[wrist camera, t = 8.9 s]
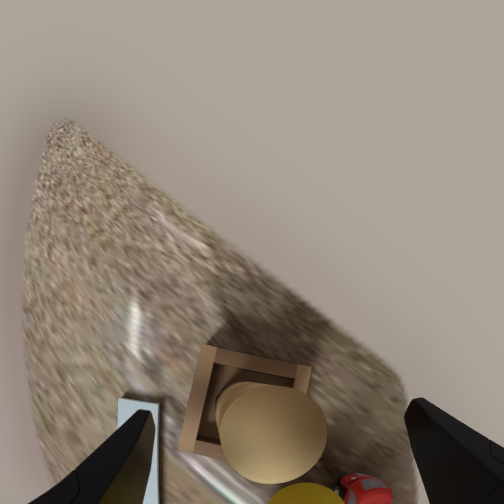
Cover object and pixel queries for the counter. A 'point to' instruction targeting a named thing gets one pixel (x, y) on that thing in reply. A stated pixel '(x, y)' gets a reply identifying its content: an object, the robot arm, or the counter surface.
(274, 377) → the square wooden tray
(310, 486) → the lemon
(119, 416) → the plate
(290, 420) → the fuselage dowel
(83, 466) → the robot arm
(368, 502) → the toy fire truck
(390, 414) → the counter surface
